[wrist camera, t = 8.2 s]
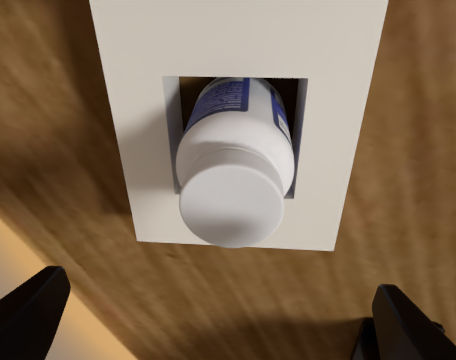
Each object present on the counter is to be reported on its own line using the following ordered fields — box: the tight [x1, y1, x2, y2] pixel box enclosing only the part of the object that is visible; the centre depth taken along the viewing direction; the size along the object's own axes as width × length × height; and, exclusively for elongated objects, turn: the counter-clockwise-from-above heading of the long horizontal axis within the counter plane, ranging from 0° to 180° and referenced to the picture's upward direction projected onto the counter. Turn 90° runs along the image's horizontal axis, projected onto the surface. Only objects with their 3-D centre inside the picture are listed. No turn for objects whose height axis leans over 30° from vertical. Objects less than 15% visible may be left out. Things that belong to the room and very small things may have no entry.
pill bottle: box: [176, 77, 294, 248], centre depth 17 cm, size 5×5×9 cm
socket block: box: [89, 0, 388, 251], centre depth 14 cm, size 20×13×10 cm, turn 0°
